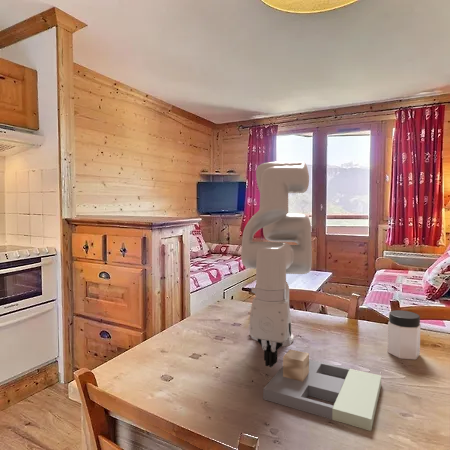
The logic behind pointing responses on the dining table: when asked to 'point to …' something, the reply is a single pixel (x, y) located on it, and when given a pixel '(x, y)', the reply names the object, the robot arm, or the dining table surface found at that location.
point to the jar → (404, 334)
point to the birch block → (296, 365)
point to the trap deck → (329, 393)
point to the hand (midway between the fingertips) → (270, 364)
